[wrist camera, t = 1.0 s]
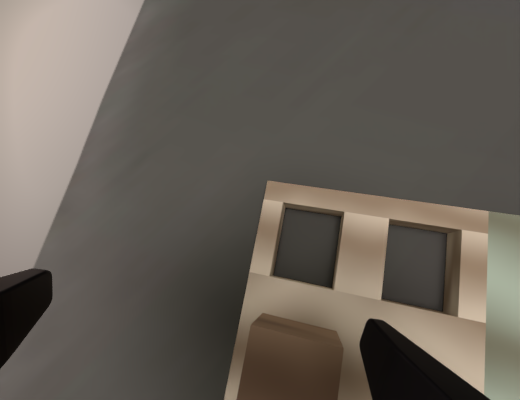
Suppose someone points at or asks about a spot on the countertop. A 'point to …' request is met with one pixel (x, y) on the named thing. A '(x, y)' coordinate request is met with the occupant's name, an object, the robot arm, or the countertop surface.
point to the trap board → (371, 280)
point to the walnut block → (290, 361)
